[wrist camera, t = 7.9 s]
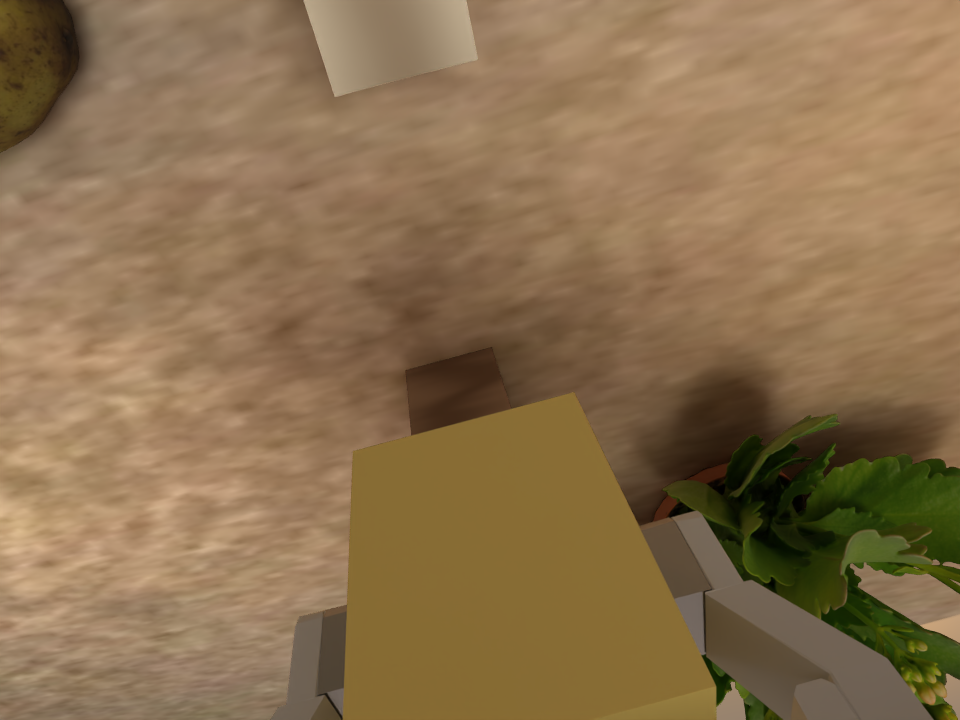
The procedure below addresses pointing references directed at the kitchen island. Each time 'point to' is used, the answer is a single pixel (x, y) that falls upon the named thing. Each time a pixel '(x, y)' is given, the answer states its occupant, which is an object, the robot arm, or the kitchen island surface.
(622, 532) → the mustard block
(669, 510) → the potted flower
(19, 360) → the kitchen island surface
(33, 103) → the potato
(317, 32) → the birch block
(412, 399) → the walnut block
